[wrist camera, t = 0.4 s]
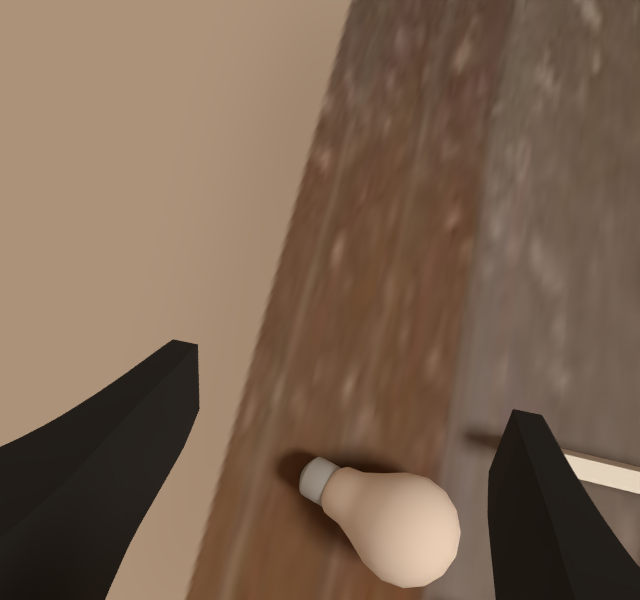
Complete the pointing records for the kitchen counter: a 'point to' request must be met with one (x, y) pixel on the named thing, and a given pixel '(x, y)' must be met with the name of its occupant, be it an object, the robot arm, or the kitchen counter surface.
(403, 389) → the kitchen counter surface
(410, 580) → the light bulb
